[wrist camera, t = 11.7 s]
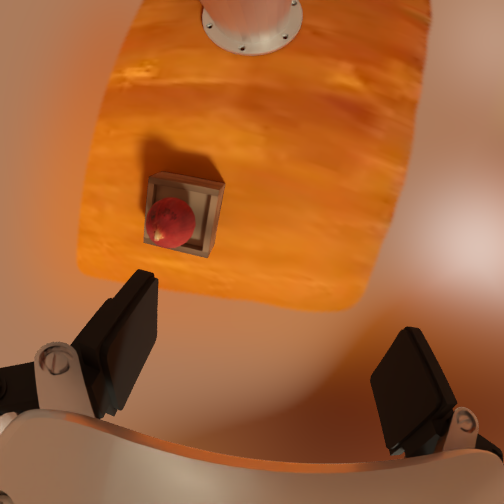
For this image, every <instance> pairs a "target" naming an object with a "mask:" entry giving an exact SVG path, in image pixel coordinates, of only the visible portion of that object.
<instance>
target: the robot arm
mask: <svg viewBox="0 0 504 504" xmlns="http://www.w3.org/2000/svg"><path fill="white" fill-rule="evenodd" d="M199 1H200V2H201V4H202V5H203V7H204V9H203V13H202V24H203V27H204V30H205V32H206V33H207V35H208V37H209V38H210V39H211V40H212V41H213V42H214V43H215V44H216V45H217V46H219V47H220V48H222V49H224V50H226V51H228V52H231V53H234V54H239V55H247V56H256V55H264V54H267V53H271V52H274V51H276V50H279V49H281V48H282V47H284V46H285V45H287V44H288V43H289V42H291V41H292V40H293V39H294V38H295V36H296V35H297V33H298V32H299V29H300V27H301V24H302V19H303V14H302V8H301V4H300V2H299V1H298V0H199ZM292 5H295V6H292ZM210 27H212V28H210ZM209 28H210V29H209ZM283 37H287V39H283ZM242 48H244V49H245V50H244V51H241V49H242ZM157 305H158V279H157V278H154V274H153V273H151V272H148V271H144V270H140V269H138V270H137V271H136V272H135V273H134V274H133V275H132V276H131V278H130V279H129V280H128V281H127V282H126V283H125V285H124V286H123V287H122V288H121V290H120V291H119V292H118V293H117V294H116V295H115V297H114V298H113V299H112V298H109V299H108V300H106V301H105V302H104V304H103V305H102V306H101V307H100V308H99V310H98V311H97V312H96V313H95V315H94V316H93V317H92V318H91V320H90V321H89V322H88V323H87V324H86V326H85V327H84V328H83V329H82V331H81V332H80V333H79V335H78V336H77V337H76V338H75V340H74V341H73V342H72V344H71V345H68V344H67V343H63V342H51V343H48V344H46V345H44V346H42V347H41V348H40V349H39V350H38V351H37V353H36V355H35V360H34V362H30V363H25V364H20V365H15V366H9V367H3V368H0V504H504V464H503V454H502V451H501V450H500V449H499V448H498V447H496V446H495V445H494V444H492V443H491V442H489V441H488V440H486V439H485V438H484V437H482V436H481V435H479V434H478V420H477V418H476V416H475V415H474V414H473V412H471V411H470V410H469V409H467V408H464V407H460V408H457V409H456V410H455V411H454V412H453V409H452V408H453V407H454V406H455V405H456V404H457V401H456V399H455V396H454V394H453V392H452V390H451V388H450V386H449V383H448V381H447V379H446V377H445V375H444V373H443V371H442V369H441V367H440V365H439V363H438V361H437V360H436V357H435V356H434V354H433V352H432V350H431V348H430V346H429V344H428V343H427V341H426V339H425V337H424V335H423V334H422V332H421V330H420V329H419V328H414V327H405V328H404V329H403V330H401V331H400V332H399V334H398V335H397V337H396V339H395V340H394V342H393V344H392V345H391V347H390V348H389V350H388V351H387V353H386V354H385V356H384V357H383V359H382V360H381V362H380V363H379V365H378V366H377V368H376V369H375V371H374V372H373V374H372V375H371V379H370V383H371V386H372V390H373V394H374V398H375V401H376V405H377V409H378V413H379V417H380V421H381V426H382V430H383V434H384V439H385V443H386V447H387V448H388V449H389V451H390V455H399V454H402V453H403V452H405V457H404V459H397V460H389V461H378V462H366V463H346V464H309V463H290V462H277V461H267V460H258V459H251V458H243V457H237V456H231V455H225V454H220V453H214V452H210V451H205V450H200V449H196V448H192V447H188V446H184V445H180V444H176V443H172V442H169V441H165V440H161V439H158V438H155V437H151V436H148V435H145V434H141V433H139V432H136V431H133V430H130V429H127V428H124V427H120V426H118V425H114V424H112V423H109V422H106V421H103V420H100V419H101V418H103V417H104V415H105V413H107V414H110V415H112V416H115V414H116V412H117V409H118V410H122V409H123V408H124V406H125V403H126V401H127V399H128V397H129V395H130V393H131V390H132V389H133V386H134V384H135V382H136V380H137V378H138V376H139V374H140V372H141V370H142V368H143V366H144V364H145V362H146V360H147V358H148V355H149V354H150V351H151V349H152V347H153V345H154V344H155V341H156V338H157Z"/></svg>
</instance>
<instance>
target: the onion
mask: <svg viewBox="0 0 504 504" xmlns="http://www.w3.org/2000/svg"><path fill="white" fill-rule="evenodd" d="M145 226H146V231H147V234H148V236H149V237H150V239H151V240H152V241H153V242H154V243H155V244H156V245H158V246H160V247H163V248H176V247H178V246H181V245H183V244H185V243H186V242H187V241H188V240H189V239H190V238H191V237H192V234H193V232H194V229H195V226H196V222H195V215H194V213H193V211H192V208H191V207H190V206H189V205H188V204H187V203H186V202H185V201H183V200H181V199H179V198H173V197H167V198H163V199H161V200H159V201H157V202H155V203H154V204H153V206H152V207H151V209H150V210H149V212H148V214H147V218H146V225H145Z"/></svg>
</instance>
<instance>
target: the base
mask: <svg viewBox="0 0 504 504" xmlns="http://www.w3.org/2000/svg"><path fill="white" fill-rule="evenodd" d="M224 188H225V183H221V182H216V181H211V180H206V179H201V178H196V177H191V176H185V175H180V174H174V173H169V172H163V171H161V172H159V173H156V174H154V175H152V176H150V177H149V181H148V190H147V201H146V213H145V225H146V218H147V214H148V212H149V210H150V209H151V207H152V206H153V204H154V203H155V202H157V201H159V200H161V199H163V198H167V197H173V198H179V199H181V200H183V201H185V202H186V203H187V204H188V205H189V206H190V207H191V208H192V211H193V213H194V215H195V222H196V226H195V229H194V232H193V234H192V237H191V238H190V239H189V240H188V241H187V242H186V243H185V244H183V245H181V246H178V247H176V248H167V249H171V250H175V251H180V252H184V253H188V254H192V255H196V256H201V257H205V258H208V256H209V254H210V252H211V250H212V248H213V246H214V242H215V237H216V231H217V225H218V220H219V214H220V209H221V204H222V198H223V193H224ZM144 243H147V244H151V245H155V246H158V245H156V244H155V243H154V242H153V241H152V240H151V239H150V237H149V236H148V234H147V231H146V226H145V227H144ZM159 247H160V246H159Z"/></svg>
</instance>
